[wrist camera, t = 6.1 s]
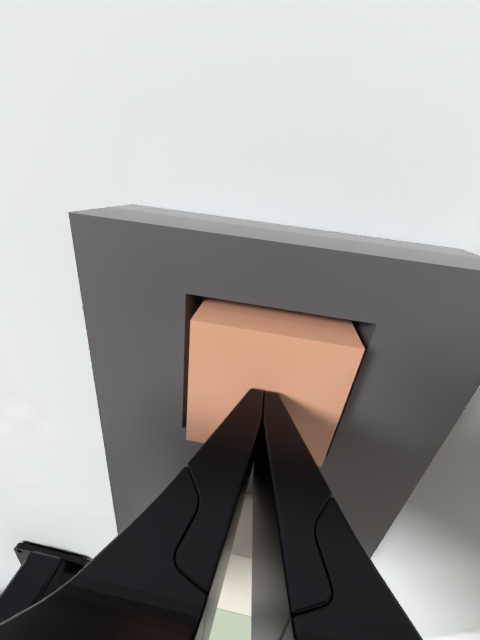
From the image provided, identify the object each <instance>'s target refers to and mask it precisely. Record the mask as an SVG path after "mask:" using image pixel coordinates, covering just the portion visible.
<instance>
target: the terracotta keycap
mask: <svg viewBox="0 0 480 640" xmlns="http://www.w3.org/2000/svg"><path fill="white" fill-rule="evenodd" d="M364 351H365V348H364V346H363V344H362V342H361V340H360V338H359V336H358V334H357V332H356V330H355V328H354V326H353V324H352V322H351V320H348V319H341V318H335V317H329V316H323V315H316V314H310V313H304V312H298V311H291V310H285V309H279V308H273V307H266V306H260V305H254V304H248V303H241V302H235V301H229V300H223V299H216V298H210V297H206V298H205V300H204V301H203V303H202V304H201V305H200V307H199V308H198V310H197V311H196V313H195V314H194V315H193V317H192V318H191V320H190V343H189V371H188V399H187V427H186V440H190V441H195V442H200V443H205V442H206V440H207V439H208V438H209V437H210V436H211V435H212V433H213V432H214V431H215V430H216V429H217V427H218V426H219V425H220V424H221V423H222V421H223V420H224V419H225V418H226V417H227V415H228V414H229V413H230V412H231V411H232V410H233V408H234V407H235V406H236V405H237V404H238V402H239V401H240V400H241V399H242V398H243V396H244V395H245V394H246V393H247V392H248V391H249V389H251V388H254V389H260V390H263V391H264V392H265V391H271V392H276V393H278V394H279V395H280V397H281V399H282V401H283V403H284V405H285V406H286V408H287V410H288V412H289V414H290V416H291V418H292V419H293V421H294V423H295V425H296V427H297V429H298V431H299V432H300V434H301V436H302V438H303V440H304V442H305V444H306V446H307V447H308V449H309V451H310V453H311V455H312V457H313V459H314V460H315V462H316V464H317V466H319V467H322V464H323V462H324V459H325V456H326V454H327V451H328V448H329V445H330V443H331V440H332V437H333V435H334V432H335V429H336V427H337V424H338V421H339V418H340V416H341V413H342V410H343V408H344V405H345V402H346V399H347V397H348V394H349V391H350V389H351V386H352V383H353V381H354V378H355V375H356V372H357V370H358V367H359V364H360V362H361V359H362V356H363V353H364Z"/></svg>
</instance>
